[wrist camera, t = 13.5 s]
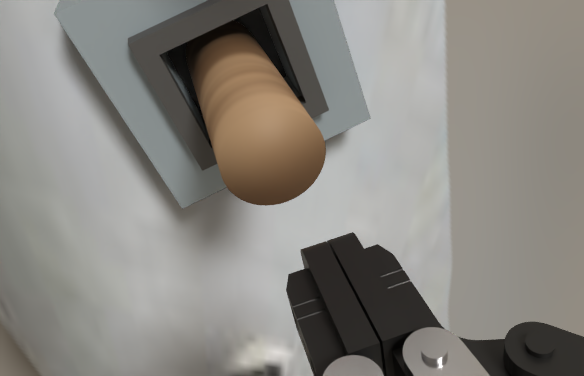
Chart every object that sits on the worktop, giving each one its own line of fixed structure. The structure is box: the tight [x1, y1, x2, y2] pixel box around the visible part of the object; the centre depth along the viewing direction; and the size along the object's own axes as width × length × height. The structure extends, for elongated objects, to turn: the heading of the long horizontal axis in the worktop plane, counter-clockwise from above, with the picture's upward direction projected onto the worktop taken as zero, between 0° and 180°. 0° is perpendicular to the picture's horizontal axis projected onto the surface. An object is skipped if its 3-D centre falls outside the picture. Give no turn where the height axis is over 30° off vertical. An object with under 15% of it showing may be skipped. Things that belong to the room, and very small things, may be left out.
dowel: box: [186, 20, 326, 205], centre depth 24 cm, size 4×4×12 cm
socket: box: [54, 0, 371, 209], centre depth 27 cm, size 12×12×4 cm
